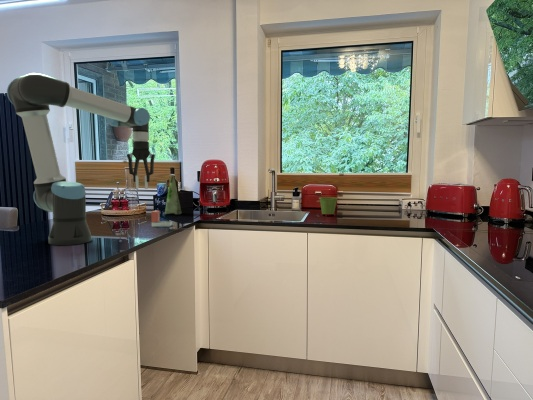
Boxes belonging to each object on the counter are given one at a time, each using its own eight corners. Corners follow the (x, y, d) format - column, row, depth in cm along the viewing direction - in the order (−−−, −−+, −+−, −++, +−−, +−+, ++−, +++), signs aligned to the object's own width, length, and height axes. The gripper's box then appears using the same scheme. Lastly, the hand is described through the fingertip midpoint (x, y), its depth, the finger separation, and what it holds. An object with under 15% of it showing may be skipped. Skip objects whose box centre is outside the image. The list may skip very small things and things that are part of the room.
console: (170, 226, 190) (170, 222, 190) (151, 226, 189) (151, 222, 189) (171, 225, 195) (171, 221, 194) (153, 225, 194) (153, 221, 194)
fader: (157, 222, 189) (157, 211, 188) (151, 222, 189) (151, 211, 188) (159, 220, 194) (159, 210, 193) (153, 220, 194) (153, 210, 193)
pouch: (174, 215, 228) (174, 174, 226) (158, 214, 233) (158, 173, 231) (185, 213, 238) (185, 173, 236) (170, 212, 243) (170, 173, 241)
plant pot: (316, 214, 243) (316, 197, 242) (334, 214, 244) (334, 197, 243) (320, 217, 231) (321, 198, 230) (339, 217, 232) (340, 198, 231)
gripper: (159, 141, 191) (160, 188, 194) (125, 141, 190) (126, 188, 192) (157, 140, 184) (157, 189, 186) (121, 140, 183) (122, 189, 185)
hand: (141, 188), depth 189 cm, fingers open, 4 cm apart
